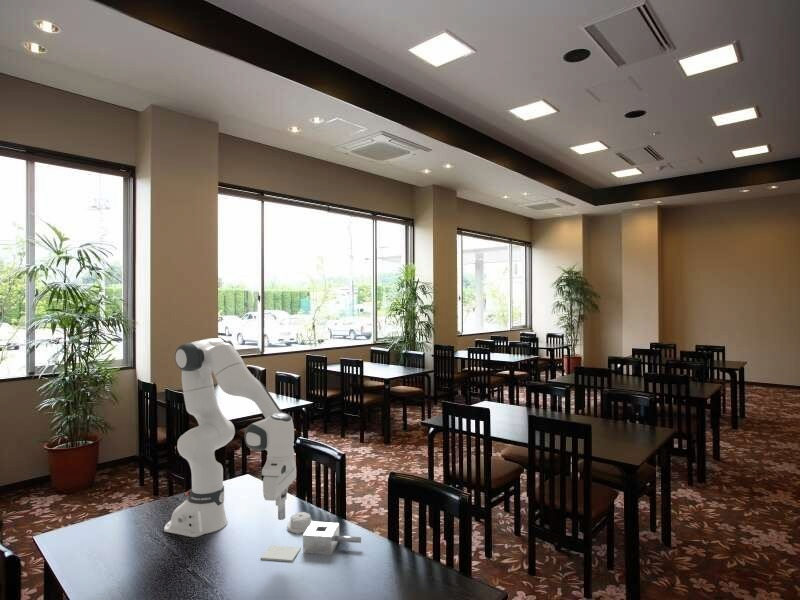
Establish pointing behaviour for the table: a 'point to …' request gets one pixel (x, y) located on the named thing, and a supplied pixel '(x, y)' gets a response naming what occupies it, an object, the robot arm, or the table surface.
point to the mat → (281, 553)
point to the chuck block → (324, 538)
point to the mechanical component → (299, 522)
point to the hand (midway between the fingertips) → (281, 502)
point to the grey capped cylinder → (282, 507)
